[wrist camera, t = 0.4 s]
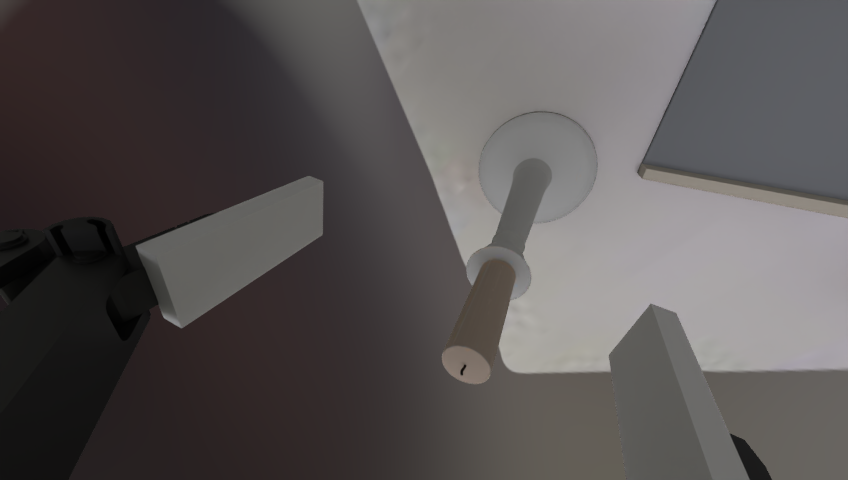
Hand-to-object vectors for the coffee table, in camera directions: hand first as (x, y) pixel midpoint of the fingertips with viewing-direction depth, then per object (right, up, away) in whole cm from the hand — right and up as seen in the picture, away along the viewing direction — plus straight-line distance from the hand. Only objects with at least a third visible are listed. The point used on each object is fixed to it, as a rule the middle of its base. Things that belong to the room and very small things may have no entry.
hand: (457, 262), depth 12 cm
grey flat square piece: (+29, +13, +13) cm, 34 cm away
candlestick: (+12, +9, +24) cm, 28 cm away
